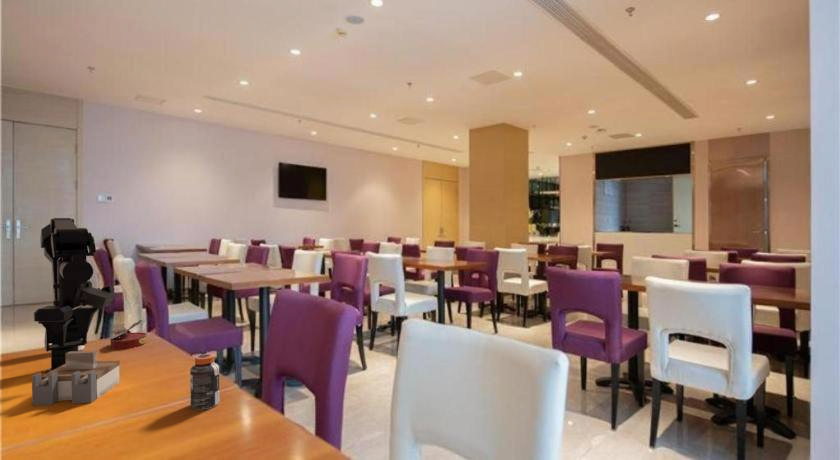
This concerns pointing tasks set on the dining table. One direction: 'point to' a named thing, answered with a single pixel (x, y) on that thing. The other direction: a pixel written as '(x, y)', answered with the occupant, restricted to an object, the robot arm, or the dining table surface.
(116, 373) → the grey notched open box
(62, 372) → the grey tabbed base plate
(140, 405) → the dining table surface
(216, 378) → the pill bottle
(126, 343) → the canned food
